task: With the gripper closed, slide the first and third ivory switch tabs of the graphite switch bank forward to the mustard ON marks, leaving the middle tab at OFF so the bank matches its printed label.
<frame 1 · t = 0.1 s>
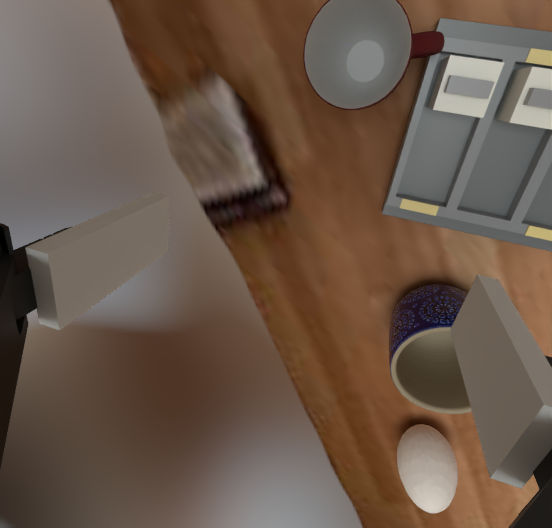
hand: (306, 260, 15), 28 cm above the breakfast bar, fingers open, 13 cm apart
planter: (434, 311, 45), on the breakfast bar
switch bank: (501, 142, 35), on the breakfast bar
tab 2: (539, 99, 29), point 5 cm above the breakfast bar, slide at -4.0 cm
egg: (422, 428, 53), on the breakfast bar
mug: (378, 57, 35), on the breakfast bar, touching switch bank
tab 1: (462, 87, 30), point 5 cm above the breakfast bar, slide at -4.0 cm
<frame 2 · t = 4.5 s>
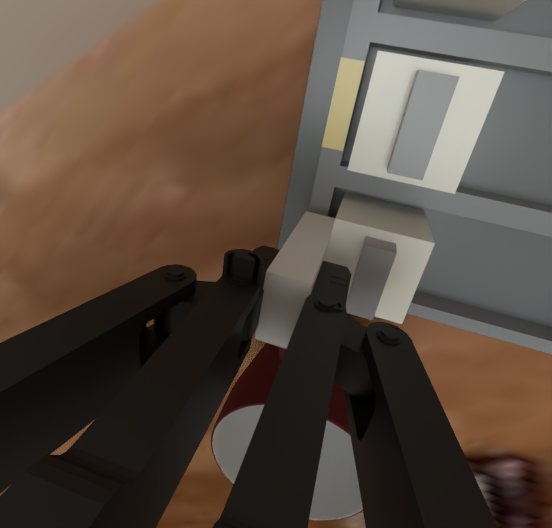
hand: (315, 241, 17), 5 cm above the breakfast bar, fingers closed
switch bank: (489, 131, 18), on the breakfast bar
tab 2: (414, 122, 14), point 5 cm above the breakfast bar, slide at -4.0 cm
mug: (319, 319, 25), on the breakfast bar, touching switch bank
tab 1: (371, 257, 17), point 5 cm above the breakfast bar, slide at -4.0 cm, touching gripper
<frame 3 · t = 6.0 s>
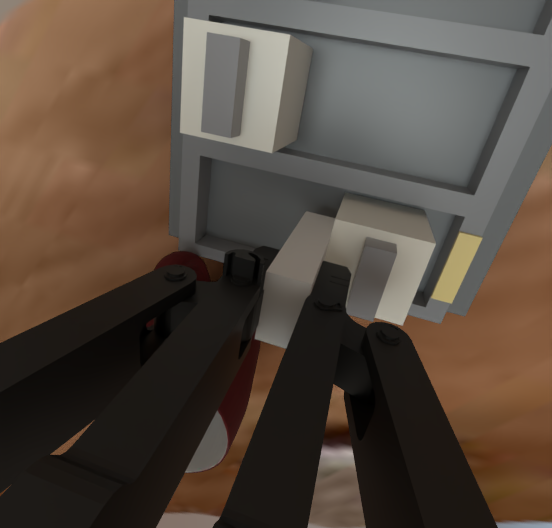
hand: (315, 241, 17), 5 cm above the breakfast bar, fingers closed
switch bank: (349, 103, 19), on the breakfast bar
tab 2: (245, 88, 15), point 5 cm above the breakfast bar, slide at -4.0 cm
mug: (225, 292, 26), on the breakfast bar, touching switch bank
tab 1: (371, 257, 17), point 5 cm above the breakfast bar, slide at 3.0 cm, touching gripper
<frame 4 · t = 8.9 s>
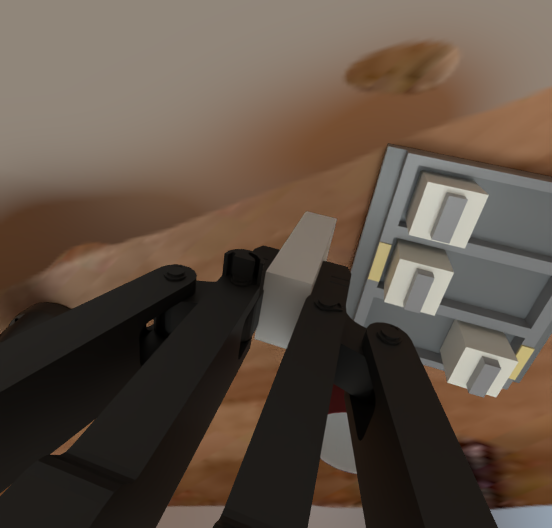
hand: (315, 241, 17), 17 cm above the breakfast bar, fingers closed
tab 3: (443, 208, 27), point 5 cm above the breakfast bar, slide at -4.0 cm
switch bank: (455, 265, 33), on the breakfast bar
tab 2: (415, 277, 29), point 5 cm above the breakfast bar, slide at -4.0 cm
mug: (356, 357, 40), on the breakfast bar, touching switch bank
tab 1: (476, 358, 31), point 5 cm above the breakfast bar, slide at 3.2 cm
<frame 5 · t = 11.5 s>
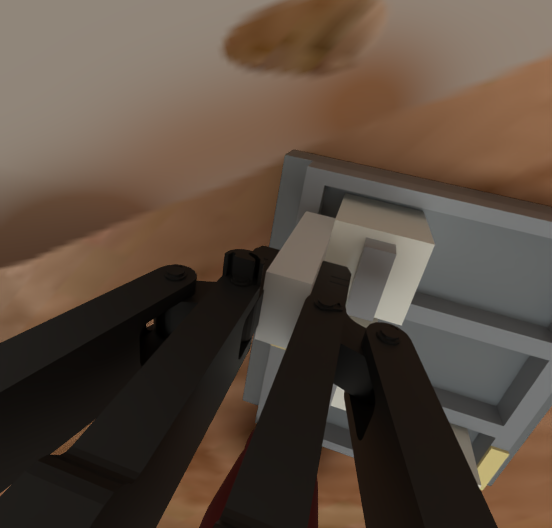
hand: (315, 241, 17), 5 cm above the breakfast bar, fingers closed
tab 3: (370, 258, 17), point 5 cm above the breakfast bar, slide at -3.5 cm, touching gripper
switch bank: (400, 323, 23), on the breakfast bar
tab 2: (330, 351, 20), point 5 cm above the breakfast bar, slide at -4.0 cm
mug: (282, 430, 31), on the breakfast bar, touching switch bank
tab 1: (425, 465, 21), point 5 cm above the breakfast bar, slide at 3.2 cm
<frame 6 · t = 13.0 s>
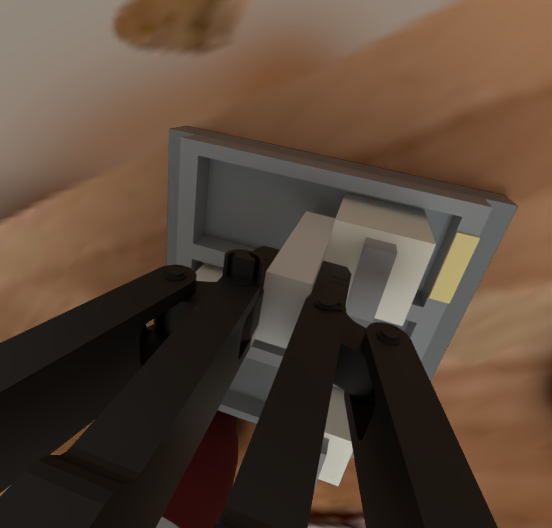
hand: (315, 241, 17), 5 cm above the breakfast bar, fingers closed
tab 3: (371, 258, 17), point 5 cm above the breakfast bar, slide at 3.1 cm, touching gripper
switch bank: (302, 295, 24), on the breakfast bar
tab 2: (218, 317, 21), point 5 cm above the breakfast bar, slide at -4.0 cm
mug: (211, 406, 32), on the breakfast bar, touching switch bank
tab 1: (317, 428, 22), point 5 cm above the breakfast bar, slide at 3.2 cm
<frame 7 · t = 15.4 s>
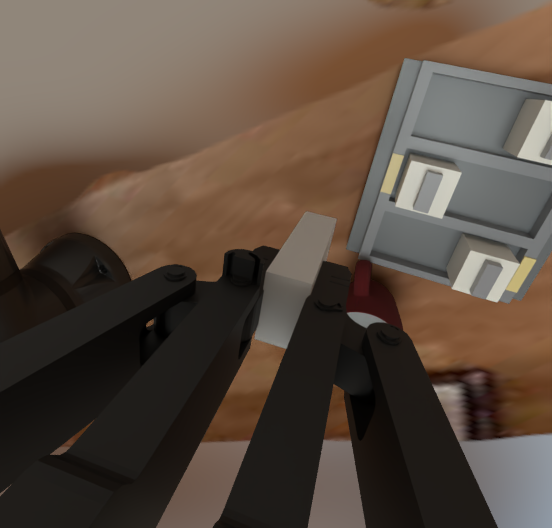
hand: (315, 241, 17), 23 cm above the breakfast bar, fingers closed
tab 3: (551, 133, 27), point 5 cm above the breakfast bar, slide at 3.2 cm
switch bank: (464, 184, 35), on the breakfast bar
tab 2: (425, 185, 31), point 5 cm above the breakfast bar, slide at -4.0 cm
mug: (366, 283, 43), on the breakfast bar, touching switch bank
tab 1: (480, 268, 33), point 5 cm above the breakfast bar, slide at 3.2 cm
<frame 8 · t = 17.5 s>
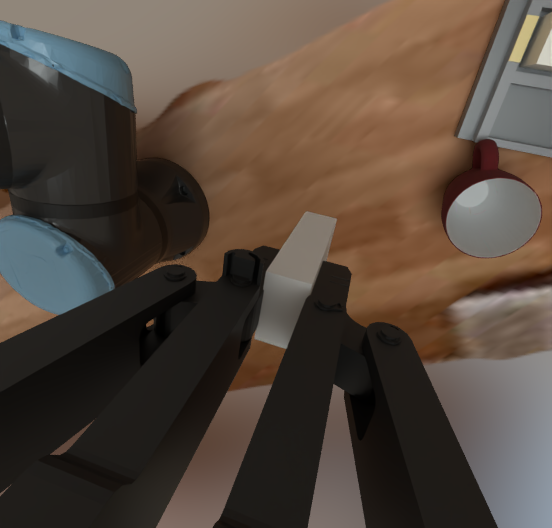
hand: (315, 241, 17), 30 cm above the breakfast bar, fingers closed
mug: (469, 180, 42), on the breakfast bar, touching switch bank
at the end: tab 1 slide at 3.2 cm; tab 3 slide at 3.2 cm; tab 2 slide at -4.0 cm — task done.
